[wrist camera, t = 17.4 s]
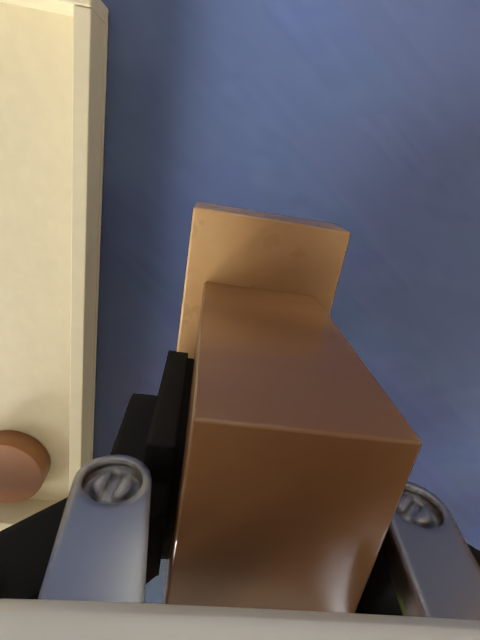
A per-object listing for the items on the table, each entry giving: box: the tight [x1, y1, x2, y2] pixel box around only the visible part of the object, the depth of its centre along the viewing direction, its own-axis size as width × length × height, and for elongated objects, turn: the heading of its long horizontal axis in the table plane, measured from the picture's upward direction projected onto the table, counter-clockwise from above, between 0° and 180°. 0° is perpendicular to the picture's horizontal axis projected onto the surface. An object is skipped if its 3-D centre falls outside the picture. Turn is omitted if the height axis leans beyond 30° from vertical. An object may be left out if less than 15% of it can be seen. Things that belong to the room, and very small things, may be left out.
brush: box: [162, 201, 421, 613], centre depth 10 cm, size 4×11×9 cm, turn 171°
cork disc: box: [0, 430, 51, 503], centre depth 22 cm, size 4×4×1 cm
